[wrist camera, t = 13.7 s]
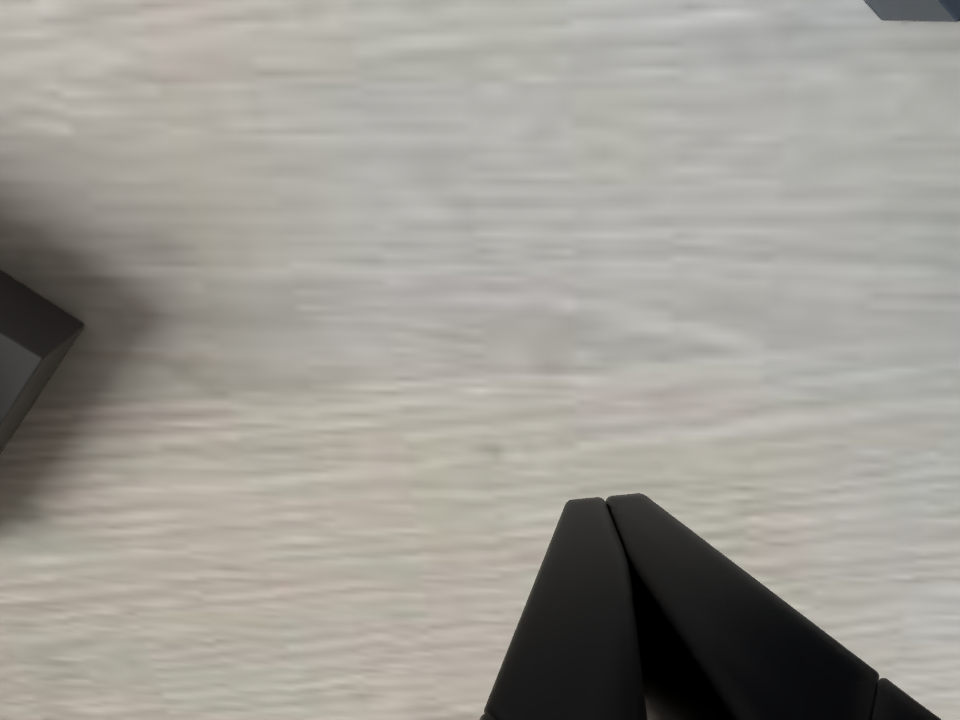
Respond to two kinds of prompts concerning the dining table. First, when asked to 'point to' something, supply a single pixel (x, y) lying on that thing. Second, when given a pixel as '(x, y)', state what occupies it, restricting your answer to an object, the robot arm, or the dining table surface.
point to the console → (916, 10)
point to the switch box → (28, 349)
